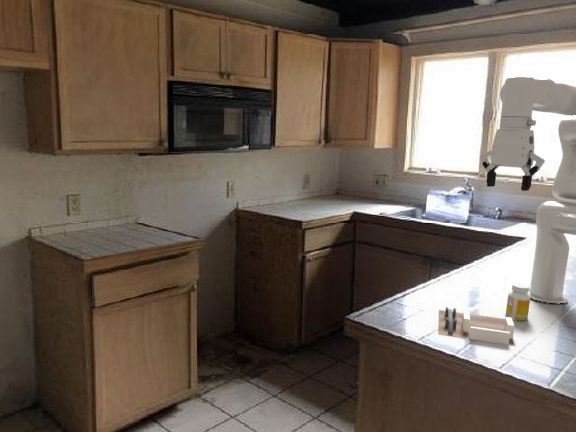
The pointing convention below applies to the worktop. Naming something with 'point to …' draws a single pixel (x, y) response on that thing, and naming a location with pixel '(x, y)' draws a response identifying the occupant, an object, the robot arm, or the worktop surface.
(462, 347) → the worktop surface
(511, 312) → the supplement bottle
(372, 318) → the worktop surface
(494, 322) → the board
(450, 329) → the cable run
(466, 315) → the holder
